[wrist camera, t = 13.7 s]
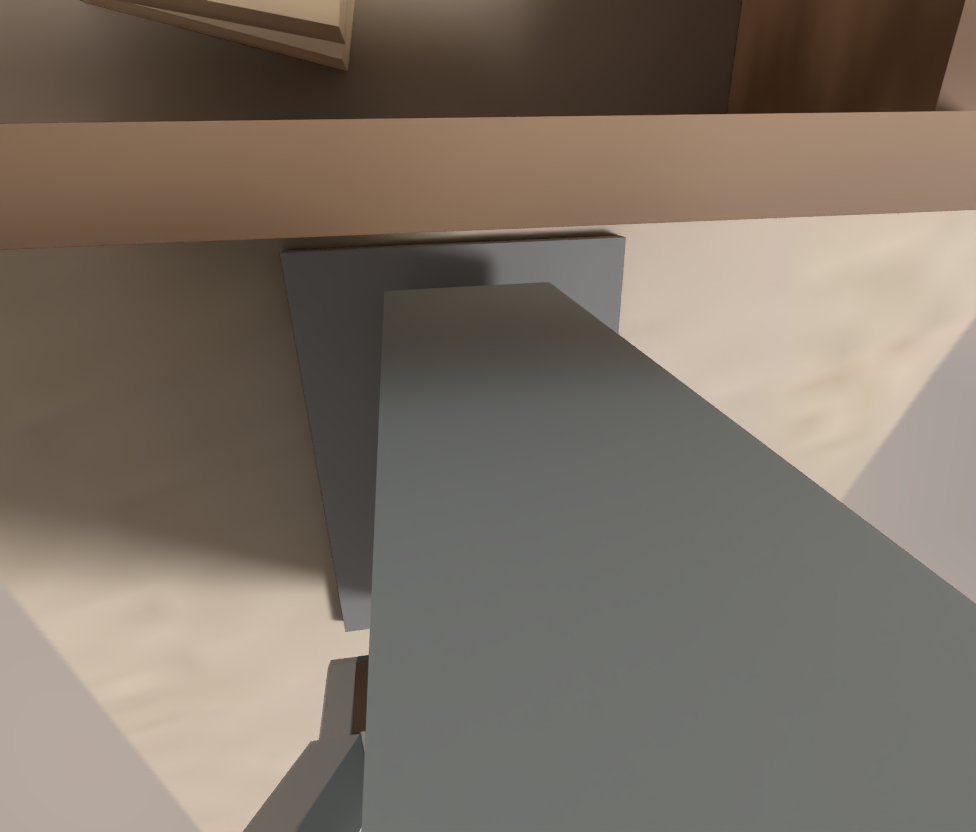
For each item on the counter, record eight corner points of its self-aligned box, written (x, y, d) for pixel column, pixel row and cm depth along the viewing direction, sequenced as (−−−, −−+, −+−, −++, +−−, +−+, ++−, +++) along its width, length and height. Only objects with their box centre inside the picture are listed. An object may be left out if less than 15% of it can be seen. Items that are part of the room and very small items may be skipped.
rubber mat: (282, 250, 16) (279, 253, 15) (619, 235, 17) (625, 237, 17) (346, 622, 22) (345, 632, 21) (593, 589, 23) (597, 597, 22)
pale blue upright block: (384, 290, 15) (326, 1701, 1) (549, 281, 15) (1713, 1161, 2) (418, 627, 20) (479, 1625, 6) (540, 610, 20) (836, 1487, 7)
